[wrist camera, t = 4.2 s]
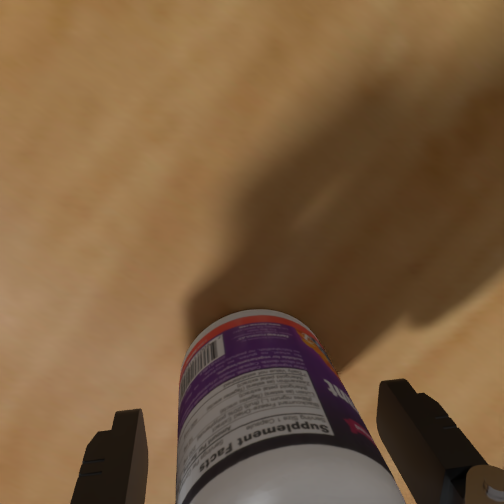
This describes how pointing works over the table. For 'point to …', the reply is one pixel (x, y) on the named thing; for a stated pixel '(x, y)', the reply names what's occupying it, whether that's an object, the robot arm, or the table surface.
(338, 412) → the pill bottle
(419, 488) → the robot arm
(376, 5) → the table surface
